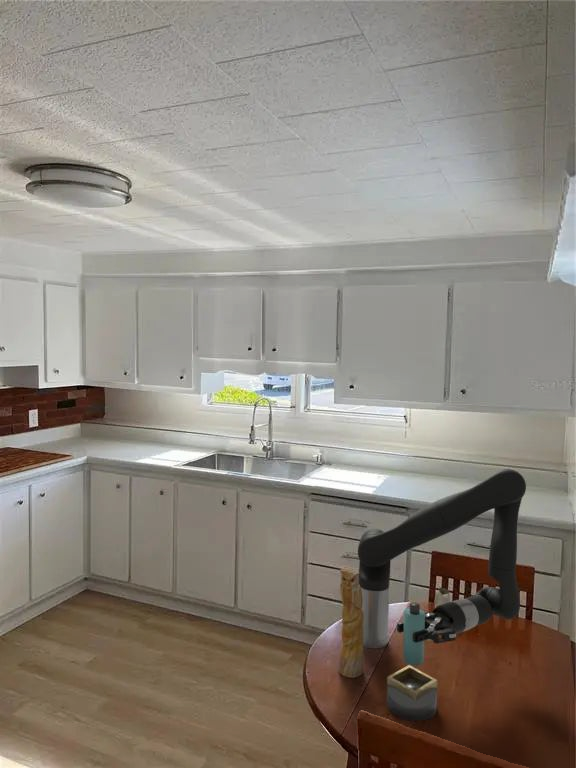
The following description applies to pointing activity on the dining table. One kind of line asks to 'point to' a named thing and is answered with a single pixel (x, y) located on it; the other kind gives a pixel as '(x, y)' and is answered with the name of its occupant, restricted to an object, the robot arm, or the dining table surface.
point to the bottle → (412, 624)
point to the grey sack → (442, 597)
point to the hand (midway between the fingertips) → (406, 633)
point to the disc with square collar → (412, 694)
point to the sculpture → (351, 625)
